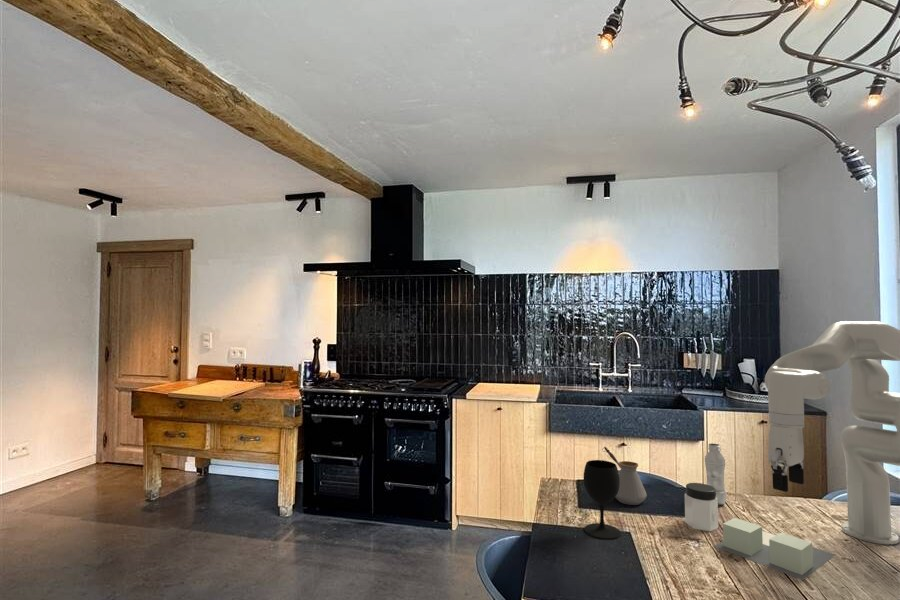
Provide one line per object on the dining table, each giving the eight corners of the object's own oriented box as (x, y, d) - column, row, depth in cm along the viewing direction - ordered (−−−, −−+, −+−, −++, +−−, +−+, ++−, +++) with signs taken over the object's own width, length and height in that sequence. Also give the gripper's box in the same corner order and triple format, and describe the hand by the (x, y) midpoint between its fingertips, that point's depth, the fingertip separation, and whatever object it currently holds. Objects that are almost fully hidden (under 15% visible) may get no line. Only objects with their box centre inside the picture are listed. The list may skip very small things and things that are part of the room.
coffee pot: (654, 505, 161) (653, 461, 162) (624, 508, 158) (623, 463, 159) (618, 484, 182) (617, 445, 182) (591, 487, 179) (590, 447, 180)
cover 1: (735, 539, 135) (734, 517, 135) (762, 548, 129) (762, 526, 129) (723, 545, 131) (722, 523, 131) (750, 555, 125) (750, 532, 125)
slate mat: (750, 528, 143) (750, 526, 143) (836, 556, 125) (835, 554, 126) (713, 548, 130) (713, 545, 130) (802, 582, 113) (802, 579, 113)
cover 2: (781, 555, 125) (780, 532, 125) (813, 566, 119) (812, 542, 120) (770, 563, 121) (769, 539, 121) (802, 575, 115) (801, 550, 116)
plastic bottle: (702, 503, 163) (701, 444, 164) (708, 498, 167) (707, 441, 168) (723, 508, 158) (721, 448, 159) (729, 503, 163) (727, 444, 164)
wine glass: (621, 542, 134) (619, 471, 135) (583, 536, 137) (582, 467, 138) (620, 527, 144) (619, 461, 145) (585, 522, 147) (584, 457, 148)
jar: (707, 535, 138) (706, 494, 139) (680, 525, 145) (679, 486, 145) (722, 528, 143) (721, 488, 144) (696, 518, 150) (695, 480, 150)
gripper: (783, 413, 130) (786, 476, 129) (755, 420, 120) (757, 488, 119) (816, 418, 124) (819, 484, 123) (789, 426, 114) (791, 497, 113)
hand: (788, 486), depth 121 cm, fingers open, 9 cm apart
